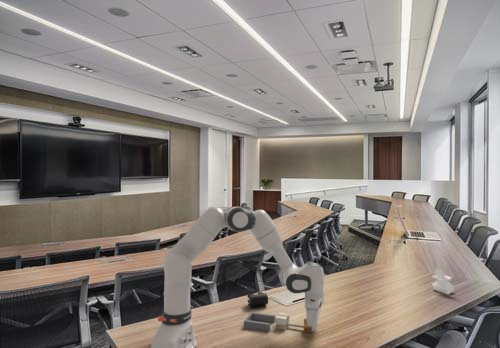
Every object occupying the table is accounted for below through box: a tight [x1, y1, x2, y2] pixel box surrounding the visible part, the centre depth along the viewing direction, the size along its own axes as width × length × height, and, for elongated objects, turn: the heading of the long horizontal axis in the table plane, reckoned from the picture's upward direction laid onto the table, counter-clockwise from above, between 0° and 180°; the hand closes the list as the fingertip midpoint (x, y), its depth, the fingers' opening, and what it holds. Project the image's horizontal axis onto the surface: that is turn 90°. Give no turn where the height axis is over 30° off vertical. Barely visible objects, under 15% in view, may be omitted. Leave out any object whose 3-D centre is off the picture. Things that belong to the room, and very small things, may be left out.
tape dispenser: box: [431, 268, 456, 295], centre depth 204 cm, size 8×14×14 cm, turn 21°
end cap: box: [246, 291, 269, 309], centre depth 183 cm, size 10×7×7 cm
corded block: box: [275, 312, 313, 334], centre depth 156 cm, size 6×17×5 cm, turn 66°
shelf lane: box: [243, 311, 276, 332], centre depth 160 cm, size 11×12×3 cm
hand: (314, 328), depth 152 cm, fingers open, 3 cm apart
